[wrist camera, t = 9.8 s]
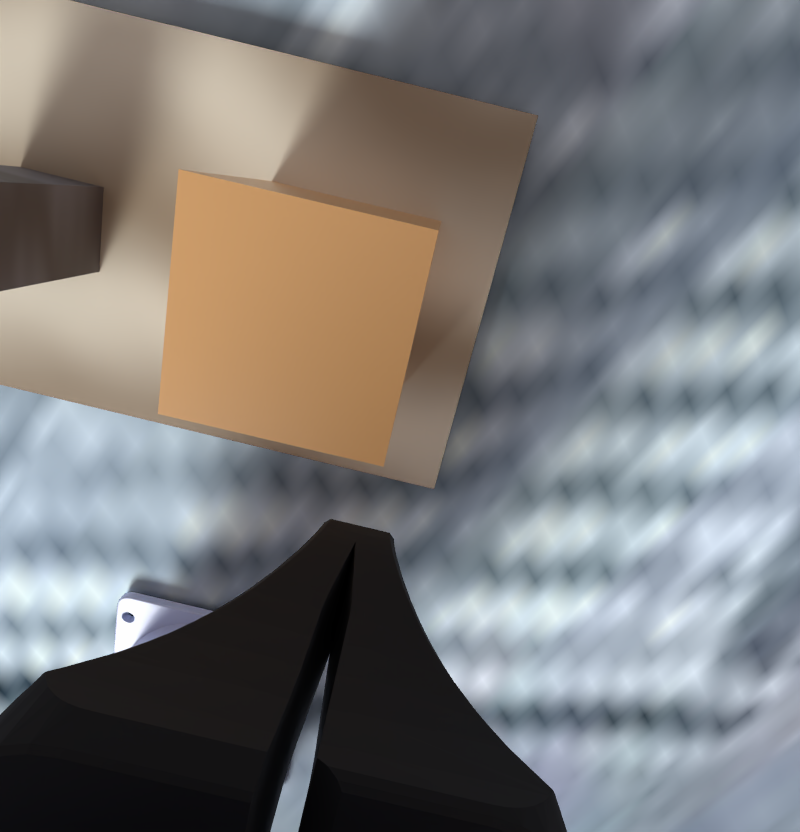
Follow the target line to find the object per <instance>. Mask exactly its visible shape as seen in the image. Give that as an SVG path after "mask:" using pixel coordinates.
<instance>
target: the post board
mask: <svg viewBox="0 0 800 832" xmlns="http://www.w3.org/2000/svg"><path fill="white" fill-rule="evenodd" d="M537 118H538V115H534V114H530V113H526V112H522V111H518V110H514V109H509V108H505V107H501V106H497V105H493V104H489V103H485V102H481V101H477V100H473V99H469V98H465V97H461V96H457V95H453V94H449V93H445V92H440V91H436V90H432V89H428V88H424V87H420V86H416V85H412V84H408V83H404V82H400V81H396V80H392V79H388V78H384V77H380V76H375V75H371V74H367V73H363V72H359V71H355V70H351V69H347V68H343V67H339V66H335V65H331V64H327V63H323V62H319V61H315V60H311V59H306V58H302V57H298V56H294V55H290V54H286V53H282V52H278V51H274V50H270V49H266V48H262V47H258V46H254V45H250V44H246V43H241V42H237V41H233V40H229V39H225V38H221V37H217V36H213V35H209V34H205V33H201V32H197V31H193V30H189V29H185V28H181V27H177V26H172V25H168V24H164V23H160V22H156V21H152V20H148V19H144V18H140V17H136V16H132V15H128V14H124V13H120V12H116V11H112V10H107V9H103V8H99V7H95V6H91V5H87V4H83V3H79V2H75V1H71V0H0V385H4V386H9V387H13V388H17V389H21V390H25V391H29V392H33V393H38V394H42V395H46V396H50V397H54V398H58V399H62V400H67V401H71V402H75V403H79V404H83V405H87V406H91V407H96V408H100V409H104V410H108V411H112V412H116V413H121V414H125V415H129V416H133V417H137V418H141V419H145V420H150V421H154V422H158V423H162V424H166V425H170V426H174V427H179V428H183V429H187V430H191V431H195V432H199V433H203V434H208V435H212V436H216V437H220V438H224V439H228V440H232V441H237V442H241V443H245V444H249V445H253V446H257V447H262V448H266V449H270V450H274V451H278V452H282V453H286V454H291V455H295V456H299V457H303V458H307V459H311V460H315V461H320V462H324V463H328V464H332V465H336V466H340V467H344V468H349V469H353V470H357V471H361V472H365V473H369V474H373V475H378V476H382V477H386V478H390V479H394V480H398V481H403V482H407V483H411V484H415V485H419V486H423V487H427V488H432V489H434V487H435V484H436V480H437V477H438V473H439V469H440V466H441V462H442V459H443V455H444V452H445V448H446V444H447V441H448V437H449V434H450V430H451V426H452V423H453V419H454V416H455V412H456V408H457V405H458V401H459V398H460V394H461V391H462V387H463V383H464V380H465V376H466V373H467V369H468V365H469V362H470V358H471V355H472V351H473V348H474V344H475V340H476V337H477V333H478V330H479V326H480V322H481V319H482V315H483V312H484V308H485V304H486V301H487V297H488V294H489V290H490V287H491V283H492V279H493V276H494V272H495V269H496V265H497V261H498V258H499V254H500V251H501V247H502V244H503V240H504V236H505V233H506V229H507V226H508V222H509V218H510V215H511V211H512V208H513V204H514V201H515V197H516V193H517V190H518V186H519V183H520V179H521V175H522V172H523V168H524V165H525V161H526V157H527V154H528V150H529V147H530V143H531V140H532V136H533V132H534V129H535V125H536V122H537ZM179 169H182V170H189V171H197V172H205V173H213V174H220V175H228V176H236V177H244V178H251V179H259V180H267V181H273V182H278V183H282V184H286V185H290V186H295V187H299V188H303V189H307V190H312V191H316V192H320V193H324V194H328V195H333V196H337V197H341V198H345V199H350V200H354V201H358V202H362V203H367V204H371V205H375V206H379V207H384V208H388V209H392V210H396V211H400V212H405V213H409V214H413V215H417V216H422V217H426V218H430V219H434V220H439V221H441V226H440V230H439V234H438V238H437V243H436V247H435V251H434V255H433V260H432V264H431V268H430V273H429V277H428V281H427V285H426V290H425V294H424V298H423V303H422V307H421V311H420V315H419V320H418V324H417V328H416V332H415V337H414V341H413V345H412V350H411V354H410V358H409V362H408V367H407V371H406V375H405V380H404V384H403V388H402V392H401V396H400V400H399V405H398V409H397V413H396V417H395V421H394V425H393V430H392V434H391V438H390V442H389V446H388V450H387V455H386V459H385V463H384V467H383V466H378V465H374V464H370V463H365V462H361V461H357V460H353V459H348V458H344V457H340V456H336V455H331V454H327V453H323V452H318V451H314V450H310V449H306V448H301V447H297V446H293V445H288V444H284V443H280V442H276V441H271V440H267V439H263V438H259V437H254V436H250V435H246V434H241V433H237V432H233V431H229V430H224V429H220V428H216V427H212V426H207V425H203V424H199V423H194V422H190V421H186V420H182V419H177V418H173V417H169V416H165V415H160V414H158V405H159V394H160V382H161V370H162V358H163V347H164V335H165V323H166V311H167V299H168V288H169V276H170V264H171V252H172V241H173V229H174V217H175V205H176V193H177V182H178V170H179Z"/></svg>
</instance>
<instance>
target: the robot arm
mask: <svg viewBox="0 0 800 832" xmlns="http://www.w3.org/2000/svg"><path fill="white" fill-rule="evenodd" d="M127 612H129V613H131V614H133V616H134V617H133V616H130V615H129V614H128V613H127ZM329 654H330V656H329ZM328 657H329V662H328V669H327V676H326V683H325V689H324V696H323V703H322V710H321V717H320V724H319V731H318V737H317V744H316V751H315V758H314V763H313V769H312V774H311V779H310V784H309V789H308V793H307V797H306V801H305V806H304V810H303V814H302V818H301V823H300V827H299V831H298V832H567V830H566V827H565V824H564V821H563V818H562V815H561V812H560V808H559V805H558V802H557V799H556V796H555V793H554V791H553V790H552V789H551V788H550V787H549V786H548V785H547V784H546V783H545V782H544V781H543V780H542V779H541V778H540V777H539V776H538V775H537V774H535V773H534V772H533V771H532V770H531V769H530V768H529V767H528V766H527V765H526V764H525V763H524V762H523V761H522V760H521V759H520V758H519V757H518V756H517V755H515V754H514V753H513V752H512V751H511V750H510V749H509V748H508V747H507V746H506V745H505V743H504V742H503V741H502V740H501V739H500V738H499V737H498V736H497V735H496V733H495V732H494V731H493V730H492V729H491V728H490V727H489V726H488V725H487V723H486V722H485V721H484V720H483V719H482V718H481V716H480V715H479V714H478V713H477V712H476V710H475V709H474V708H473V707H472V705H471V704H470V703H469V701H468V700H467V699H466V697H465V696H464V695H463V693H462V692H461V691H460V689H459V688H458V687H457V685H456V684H455V683H454V681H453V680H452V678H451V677H450V675H449V674H448V672H447V670H446V669H445V667H444V666H443V664H442V662H441V661H440V659H439V657H438V656H437V654H436V652H435V650H434V649H433V647H432V645H431V643H430V641H429V639H428V637H427V635H426V633H425V631H424V629H423V627H422V625H421V623H420V621H419V619H418V616H417V614H416V612H415V610H414V607H413V605H412V602H411V600H410V597H409V594H408V592H407V589H406V586H405V584H404V581H403V578H402V575H401V571H400V568H399V564H398V561H397V557H396V552H395V547H394V539H393V537H392V536H391V534H390V533H387V532H383V531H379V530H375V529H371V528H366V527H362V526H358V525H354V524H349V523H345V522H341V521H337V520H333V519H330V520H328V521H327V522H325V523H324V524H323V525H322V526H321V528H320V529H319V530H318V531H317V532H316V533H315V534H314V535H313V536H312V537H311V538H310V539H309V540H308V541H307V542H306V543H305V544H304V545H303V546H302V547H301V548H300V549H299V550H298V551H297V552H296V553H294V554H293V555H292V556H291V557H290V558H289V559H287V560H286V561H285V562H284V563H283V564H282V565H281V566H279V567H278V568H277V569H276V570H274V571H273V572H272V573H270V574H269V575H268V576H266V577H265V578H264V579H262V580H261V581H260V582H258V583H257V584H256V585H254V586H253V587H251V588H250V589H249V590H247V591H246V592H244V593H243V594H241V595H240V596H238V597H236V598H235V599H233V600H232V601H230V602H228V603H227V604H225V605H223V606H222V607H220V608H218V609H216V610H215V611H211V610H206V609H202V608H198V607H194V606H190V605H186V604H181V603H177V602H173V601H169V600H165V599H160V598H156V597H152V596H148V595H144V594H139V593H135V592H128V593H125V594H124V595H123V596H122V597H121V598H120V599H119V601H118V605H117V618H116V631H115V643H114V653H113V654H110V655H107V656H103V657H99V658H96V659H92V660H89V661H85V662H81V663H78V664H74V665H71V666H67V667H63V668H60V669H55V670H51V671H47V672H45V673H43V674H42V675H41V676H40V677H39V678H38V679H37V680H36V681H35V682H34V683H33V684H32V685H31V686H30V687H29V688H28V689H27V690H25V691H24V692H23V693H22V694H21V695H20V696H19V697H18V698H17V699H16V700H15V701H14V702H13V703H12V704H11V705H10V706H9V707H8V708H7V709H6V710H5V711H4V712H3V713H2V714H1V715H0V832H270V830H271V827H272V823H273V819H274V816H275V812H276V808H277V805H278V801H279V797H280V794H281V790H282V786H283V783H284V779H285V776H286V773H287V770H288V766H289V763H290V760H291V757H292V754H293V751H294V749H295V746H296V743H297V741H298V738H299V735H300V732H301V730H302V727H303V724H304V722H305V719H306V716H307V714H308V711H309V708H310V705H311V703H312V700H313V697H314V695H315V692H316V689H317V687H318V684H319V681H320V678H321V676H322V673H323V670H324V668H325V665H326V662H327V659H328Z"/></svg>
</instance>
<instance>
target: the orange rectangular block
mask: <svg viewBox="0 0 800 832" xmlns="http://www.w3.org/2000/svg"><path fill="white" fill-rule="evenodd" d="M440 226H441V221H439V220H434V219H430V218H426V217H422V216H417V215H413V214H409V213H405V212H400V211H396V210H392V209H388V208H384V207H379V206H375V205H371V204H367V203H362V202H358V201H354V200H350V199H345V198H341V197H337V196H333V195H328V194H324V193H320V192H316V191H312V190H307V189H303V188H299V187H295V186H290V185H286V184H282V183H278V182H273V181H267V180H259V179H251V178H244V177H236V176H228V175H220V174H213V173H205V172H197V171H189V170H182V169H179V170H178V182H177V193H176V205H175V217H174V229H173V241H172V252H171V264H170V276H169V288H168V299H167V311H166V323H165V335H164V347H163V358H162V370H161V382H160V394H159V405H158V414H160V415H165V416H169V417H173V418H177V419H182V420H186V421H190V422H194V423H199V424H203V425H207V426H212V427H216V428H220V429H224V430H229V431H233V432H237V433H241V434H246V435H250V436H254V437H259V438H263V439H267V440H271V441H276V442H280V443H284V444H288V445H293V446H297V447H301V448H306V449H310V450H314V451H318V452H323V453H327V454H331V455H336V456H340V457H344V458H348V459H353V460H357V461H361V462H365V463H370V464H374V465H378V466H383V467H384V463H385V459H386V455H387V450H388V446H389V442H390V438H391V434H392V430H393V425H394V421H395V417H396V413H397V409H398V405H399V400H400V396H401V392H402V388H403V384H404V380H405V375H406V371H407V367H408V362H409V358H410V354H411V350H412V345H413V341H414V337H415V332H416V328H417V324H418V320H419V315H420V311H421V307H422V303H423V298H424V294H425V290H426V285H427V281H428V277H429V273H430V268H431V264H432V260H433V255H434V251H435V247H436V243H437V238H438V234H439V230H440Z"/></svg>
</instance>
